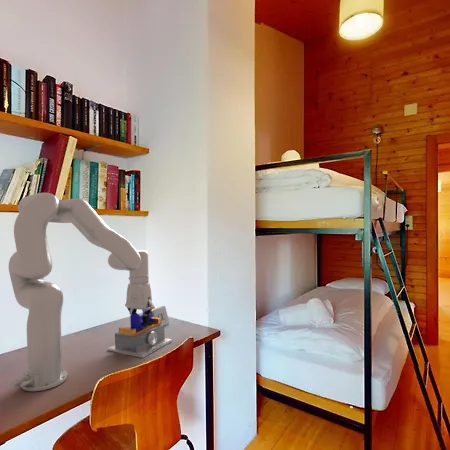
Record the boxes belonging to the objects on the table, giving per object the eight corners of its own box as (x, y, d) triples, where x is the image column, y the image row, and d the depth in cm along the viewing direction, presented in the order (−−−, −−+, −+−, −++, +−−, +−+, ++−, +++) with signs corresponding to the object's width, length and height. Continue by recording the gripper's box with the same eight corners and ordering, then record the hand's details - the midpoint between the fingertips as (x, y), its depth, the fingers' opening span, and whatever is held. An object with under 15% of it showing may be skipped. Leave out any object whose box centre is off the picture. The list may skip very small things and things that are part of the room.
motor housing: (142, 357, 116) (142, 332, 116) (107, 350, 124) (107, 326, 125) (172, 341, 132) (171, 319, 132) (139, 336, 140) (138, 314, 141)
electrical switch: (157, 329, 149) (155, 309, 150) (149, 329, 151) (147, 310, 152) (169, 324, 157) (167, 305, 158) (161, 323, 160) (159, 305, 160)
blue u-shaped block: (142, 321, 135) (141, 307, 135) (151, 322, 134) (151, 307, 134) (127, 330, 123) (126, 314, 123) (137, 330, 122) (137, 315, 122)
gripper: (116, 280, 129) (117, 324, 129) (149, 282, 121) (150, 329, 121) (130, 277, 136) (130, 319, 135) (161, 279, 128) (162, 324, 128)
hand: (140, 324), depth 128 cm, fingers closed on blue u-shaped block, 5 cm apart
